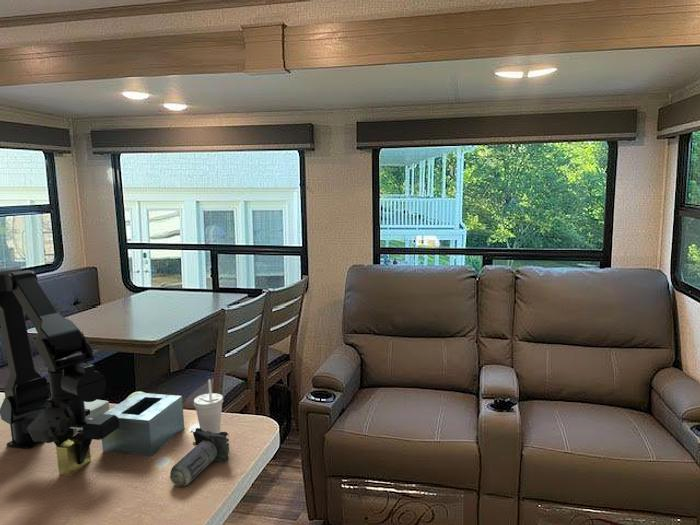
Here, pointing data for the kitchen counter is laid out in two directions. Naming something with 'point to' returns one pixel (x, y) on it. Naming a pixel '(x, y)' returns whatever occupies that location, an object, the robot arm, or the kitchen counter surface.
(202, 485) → the kitchen counter surface
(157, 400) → the box
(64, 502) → the kitchen counter surface
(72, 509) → the kitchen counter surface
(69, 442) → the block
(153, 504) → the kitchen counter surface
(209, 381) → the smoothie
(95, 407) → the small box
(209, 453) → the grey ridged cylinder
